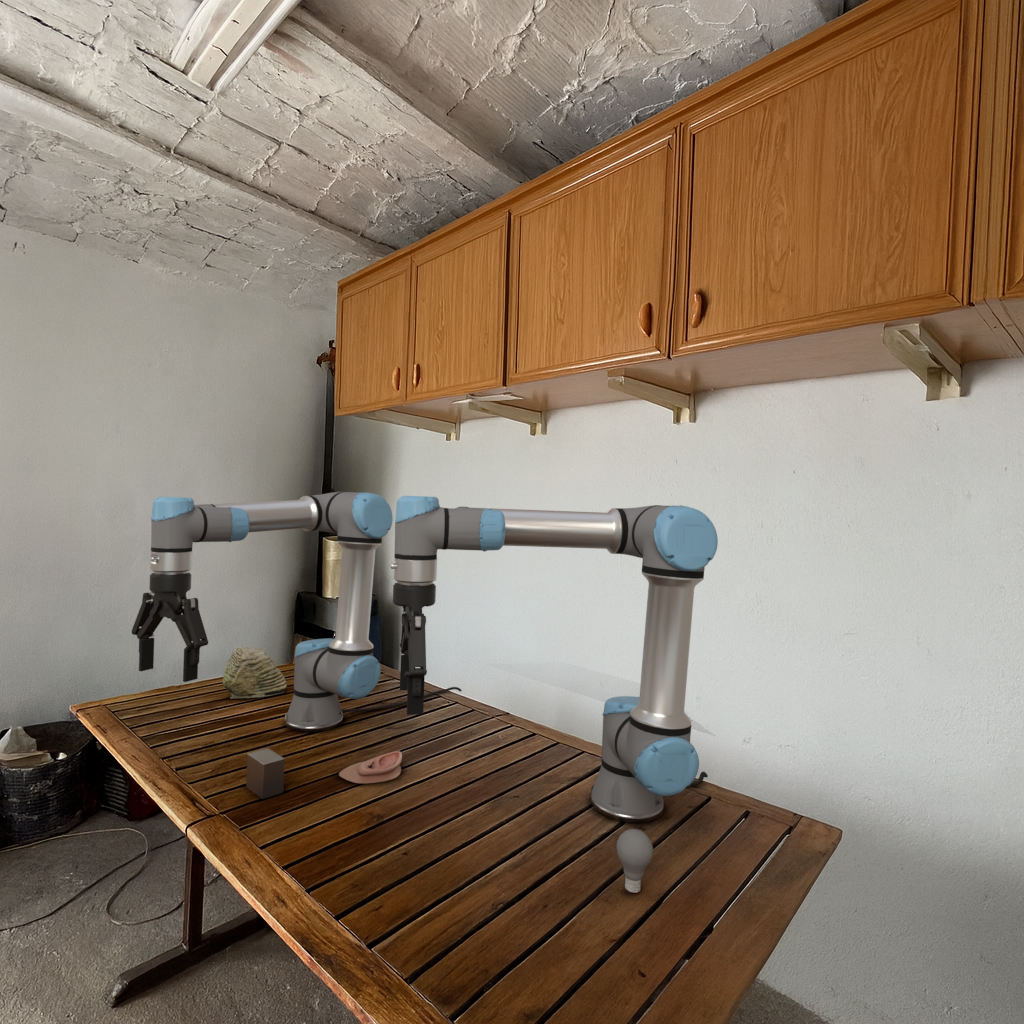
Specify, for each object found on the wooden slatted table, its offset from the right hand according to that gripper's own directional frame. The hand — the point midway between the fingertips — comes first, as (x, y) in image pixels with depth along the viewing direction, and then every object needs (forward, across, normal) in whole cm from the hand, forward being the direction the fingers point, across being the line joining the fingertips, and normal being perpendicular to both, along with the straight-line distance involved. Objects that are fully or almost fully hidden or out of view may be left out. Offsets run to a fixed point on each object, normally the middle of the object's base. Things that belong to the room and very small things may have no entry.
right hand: (410, 701), depth 113 cm
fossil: (+27, -98, -38) cm, 108 cm away
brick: (+28, -30, -27) cm, 49 cm away
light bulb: (+28, +18, +36) cm, 49 cm away
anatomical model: (+28, -34, -5) cm, 44 cm away
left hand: (+2, -30, -47) cm, 56 cm away
